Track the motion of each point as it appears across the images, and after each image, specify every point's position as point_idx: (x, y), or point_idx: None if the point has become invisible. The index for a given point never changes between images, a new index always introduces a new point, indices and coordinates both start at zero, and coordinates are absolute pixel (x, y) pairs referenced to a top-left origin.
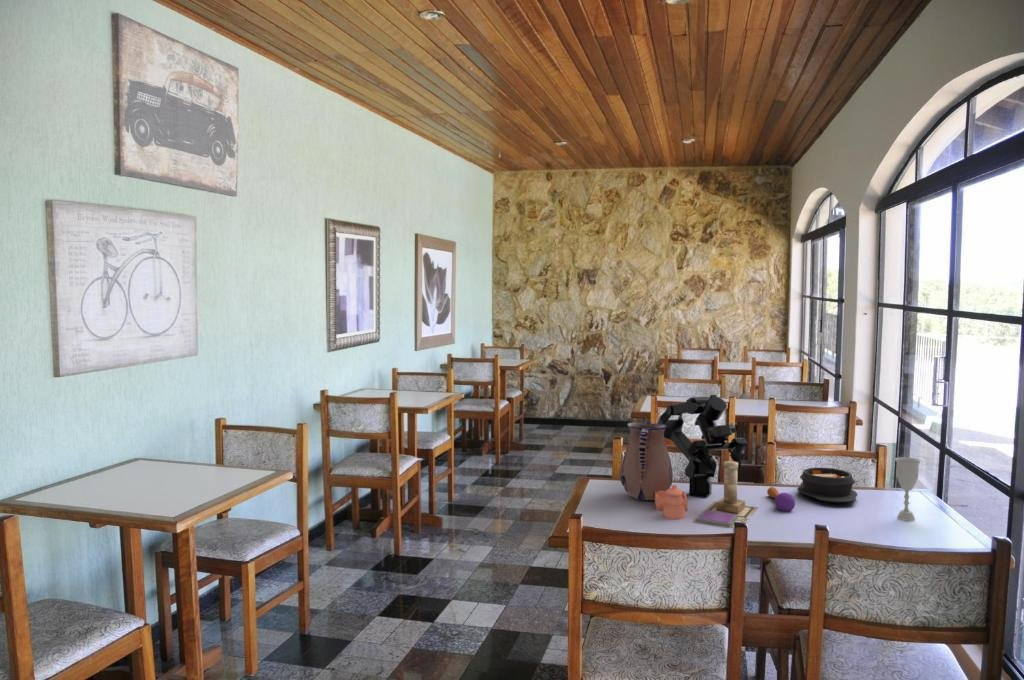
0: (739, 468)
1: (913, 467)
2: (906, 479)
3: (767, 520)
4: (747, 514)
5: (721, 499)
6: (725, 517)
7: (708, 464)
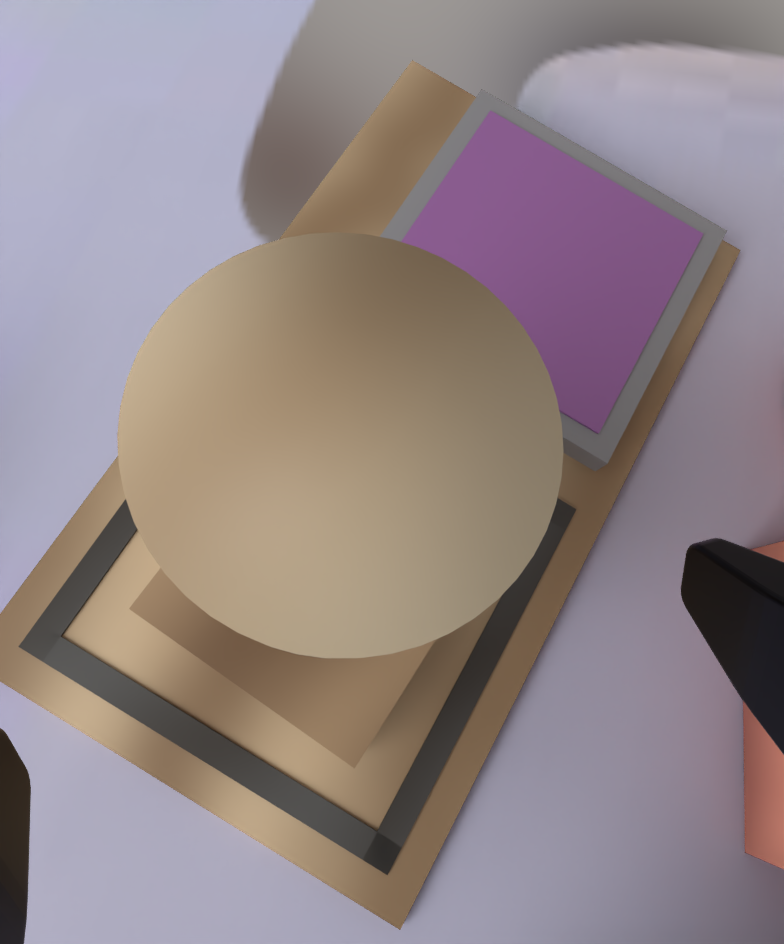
0: (13, 750)
1: None
2: None
3: (72, 275)
4: None
5: (398, 675)
6: (477, 228)
7: None
